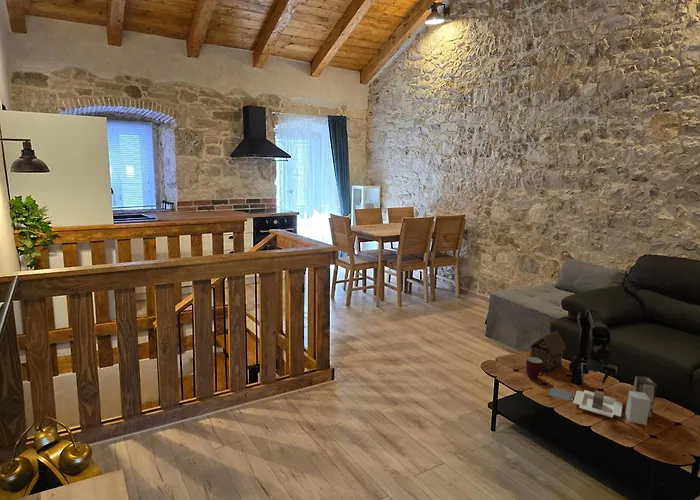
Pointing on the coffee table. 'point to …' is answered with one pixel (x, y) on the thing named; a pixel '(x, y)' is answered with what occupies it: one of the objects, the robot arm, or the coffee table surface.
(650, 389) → the coffee box
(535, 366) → the mug
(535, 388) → the coffee table surface
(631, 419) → the supplement box
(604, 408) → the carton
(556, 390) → the slate mat
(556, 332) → the model building
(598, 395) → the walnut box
